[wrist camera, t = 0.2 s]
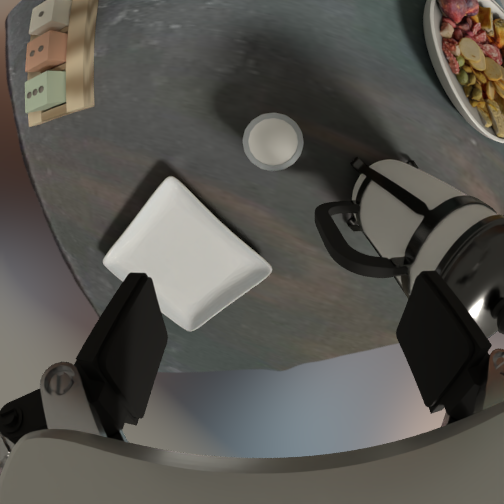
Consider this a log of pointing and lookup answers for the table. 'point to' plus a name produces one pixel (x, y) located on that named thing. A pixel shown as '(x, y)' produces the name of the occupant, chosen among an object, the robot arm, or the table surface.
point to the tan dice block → (46, 51)
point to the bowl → (469, 59)
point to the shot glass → (273, 141)
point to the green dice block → (45, 91)
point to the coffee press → (422, 236)
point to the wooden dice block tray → (74, 63)
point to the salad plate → (186, 256)
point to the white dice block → (50, 16)
